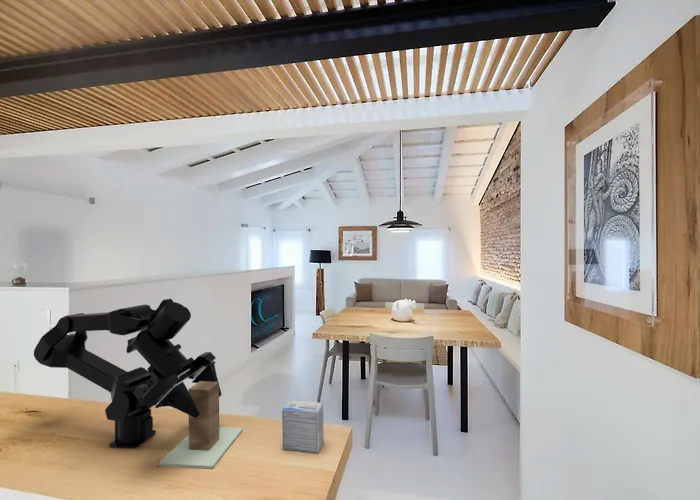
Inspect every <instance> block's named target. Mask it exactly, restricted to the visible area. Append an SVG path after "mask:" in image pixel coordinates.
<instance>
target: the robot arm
mask: <svg viewBox="0 0 700 500" xmlns="http://www.w3.org/2000/svg"><path fill="white" fill-rule="evenodd" d="M191 318H192V313H191V311H190V310H189V308H188V307H186V306H184V305H182V304H181V303H179V302H176V301H175V302H174V301H173V299H172V298H167V299H166V298H165V299H162V301H161V302H160V303H159V306H157V307H156V309H152V307H151V305H149V304H139V305H134V306H128V307H122V308H118V309H115V310H111V311H108V312H95V313H94V312H93V313H83V312H81V313H74V314H68V315H63V317H61V318H59V320H58V321H57V323H56V324H55V326H53V327H52V328H51V329H49V330H48V331H47V332H46V333H44V334H43V335H42V336H41V337H40V339H39V341H38V342H37V344H36V345H35V348H34V350H33V357H34V359H35V360H36V361H37V362H38V363H39V364H40V365H42V366H45V367H48V368H51V369H53V368H57V369H58V368H59V369H61V368H62V369H68V370H69V371H72V372H74V373H75V374H77V375H79V376H81V377H83V378H84V379H86V380H88V381H89V382H91V383H93V384H95V385H97V386H98V387H100V388H101V389H104V390H105V391H106V392H109V393H110V399H111V402H110V403H109V405H107V407H106V408H105V410H104V411H105V416H106V419H107V420H108V421H114V440H113V441H112V442H111V443H109V444H108V447H109V448H120V449H121V448H124V449H137V448H139V447H140V446H142V445H143V444H144V443H146V441H148V440H149V439H150V438H152V437H153V436H155V434H156V433H157V430H154V418H153V416H152V408H153V407H154V408H155V409H159V408H163V407H164V408H165V407H171V408H173V409H175V410H178V411H180V412H182V413H184V414H186V415H187V416H189V415H190V416H192V417H194V418H197V417H198V416H199V415H200V412H199V410H198V408H197V406H196V404H195V402H194V400H193V399H192V397H191V395H190V393H189V391H188V387H187V386H186V384H185V382H184V381H185V380H187V379H188V380H189V379H191V380H192V381H191V383H193V384H194V383H195V384H197V383H198V382H199V381H209V382H219V380H218V377H217V376H218V375H217V371H216V366H215V364H216V361H215V360H216V358H217V357H216V356H215V355H214V354H213V353H212V352H211V351H205V352H203V353H202V354H200V355H198V356H197V357H196V358H195V359H194V358H193V357H192V356H191V357H189V358H187V357H186V356H185V355H184V354H183V353H182V352H181V349H182V348H183V347H182V346H181V344H180V343H177V344H176V345H175V344H174V343H173V342H172V341H171V340H172V339H173V338H175V337H176V336H177V335H178V334H179V332H180V331H181V330H182V329H183V328H184V327H185V326H186V325H187V323H188V322H190V320H191ZM95 331H108V332H109V333H110V334H112V335H118V336H127V335H130V334H134V333H137V332H138V334H137V335H136V336H134V337H132V338H130V339H128V340H126V342H127V345H126V353H127V354H130V353H132V352H134V351H137V352H138V353H139V355H140V356H141V357H142V358H143V360H145V361H146V362H147V363H148V364H149V366H148V367H147V368H145V367H142V366H140V367H137V368H135V369H131V370H129V371H126V370H125V369H123V368H121V367H119V366H117V365H115V364H114V363H112V362H110V361H108V360H105V359H104V358H103V357H101V356H99V355H96V354H95V353H93V352H91V351H90V350H88V349H86V342H87V340H88V338H89V337H88V333H87V332H95ZM74 332H75V333H74ZM69 333H70V334H69ZM222 395H223V394H222V390H221V388H220V385H219V398H221V396H222Z"/></svg>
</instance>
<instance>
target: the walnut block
mask: <svg viewBox="0 0 700 500" xmlns="http://www.w3.org/2000/svg"><path fill="white" fill-rule="evenodd" d="M219 386H220V382H219V381H218V382H209V381H199V382H198V383H195V384H194V385H192V386H191V387H189V388H187V390H188V391H189V393H190V395H191V397H192V399H193V400H194V402H195V404H196V406H197V408H198V410H199V412H200V415H199V416H198V417H197V418H194V417H192V416H190V415H188V435H189V450H205V451H209V450H210V449H211V448H212V447H213V446H214V445H215V444H216V442H217V441H218V440H219V427H220V397H219Z"/></svg>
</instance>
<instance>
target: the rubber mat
mask: <svg viewBox="0 0 700 500" xmlns="http://www.w3.org/2000/svg"><path fill="white" fill-rule="evenodd" d="M243 431H244V428H243V427H223V426H222V427H221V426H219V440H218V441H217V442H216V444H215V445H214V446H213V447H212V448H211V449H210V450H209V451H205V450H189V434H188V435H187V436H186V437H184V439H183V440H181V441H180V442H179V444H177V445H176V446H175V447H174V448H173V449H172V450H171V451H170V452H169V453H168V454H166V456H165V457H163V458H162V459H161V460H160V461H159V462H158V466H159V467H175V468H176V467H178V468H194V469H195V468H196V469H208V470H209V469H211V470H213V469H214V468H215V466H216V465H217V464H218V463H219V462H220V460H221V459H222V457H224V455H225V454H227V453H226V452H227V451H228V450H229V449H230V447H231V446H232V445H233V444H234V442H235V441H236V440H237V438H238V437H239V436H240V434H241V433H242V432H243Z"/></svg>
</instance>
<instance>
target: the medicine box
mask: <svg viewBox="0 0 700 500" xmlns="http://www.w3.org/2000/svg"><path fill="white" fill-rule="evenodd" d="M281 415H282V416H281V422H282V423H281V425H282V426H281V431H282V450H286V451H287V450H289V451H297V452H298V451H299V452H307V453H317V454H318V453H319V452H320V450H321V449H322V446H323V444H324V441H325V437H324V436H325V431H324V429H325V428H324V427H325V426H324V402H317V401H306V400H305V401H303V400H302V401H301V400H292V399H291V400H289V401H288V402H287V403H285V405H284V406H283V408H282V409H281Z"/></svg>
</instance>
